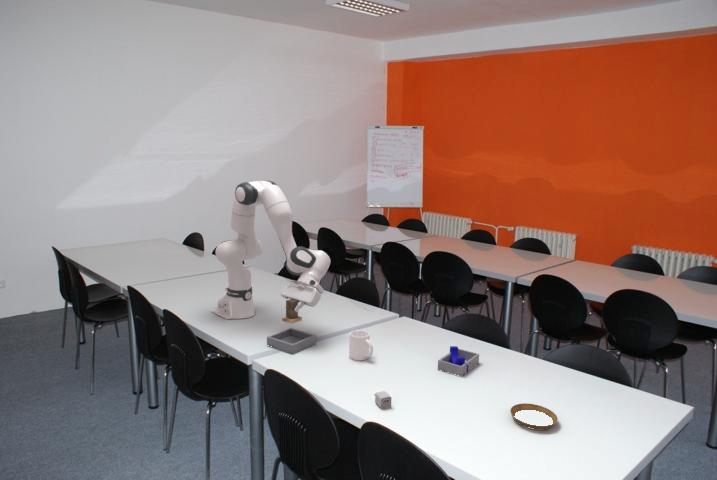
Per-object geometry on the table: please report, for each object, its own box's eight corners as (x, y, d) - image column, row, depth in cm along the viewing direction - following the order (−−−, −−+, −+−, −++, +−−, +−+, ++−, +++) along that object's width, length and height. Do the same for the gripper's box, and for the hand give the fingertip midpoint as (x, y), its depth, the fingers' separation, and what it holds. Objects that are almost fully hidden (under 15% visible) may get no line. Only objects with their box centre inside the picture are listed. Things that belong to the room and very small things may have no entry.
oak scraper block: (282, 320, 232) (282, 300, 231) (292, 317, 237) (292, 297, 235) (291, 323, 229) (291, 303, 227) (301, 320, 233) (301, 300, 231)
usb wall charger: (380, 409, 181) (380, 398, 180) (371, 400, 187) (372, 389, 186) (391, 407, 183) (391, 396, 182) (382, 398, 189) (382, 387, 188)
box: (267, 345, 233) (266, 336, 232) (290, 336, 245) (290, 327, 244) (292, 354, 224) (292, 345, 224) (315, 343, 237) (315, 335, 236)
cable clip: (467, 372, 211) (469, 358, 210) (456, 372, 211) (457, 358, 210) (459, 359, 223) (460, 346, 222) (449, 359, 222) (450, 346, 221)
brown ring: (546, 410, 183) (547, 403, 183) (564, 433, 169) (565, 426, 168) (504, 410, 183) (504, 403, 182) (517, 433, 168) (518, 425, 168)
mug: (379, 360, 221) (380, 336, 219) (364, 365, 215) (365, 341, 213) (359, 351, 229) (360, 328, 227) (345, 356, 224) (345, 333, 222)
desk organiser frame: (437, 369, 213) (438, 360, 212) (455, 356, 226) (456, 347, 226) (461, 376, 207) (461, 367, 206) (478, 363, 221) (479, 354, 220)
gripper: (287, 275, 241) (271, 300, 236) (319, 283, 228) (303, 311, 223) (295, 283, 246) (278, 308, 240) (327, 292, 232) (310, 318, 227)
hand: (290, 309), depth 231 cm, fingers closed on oak scraper block, 4 cm apart
